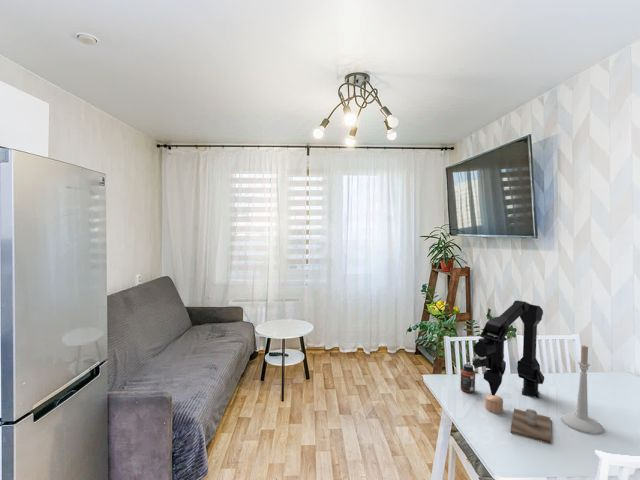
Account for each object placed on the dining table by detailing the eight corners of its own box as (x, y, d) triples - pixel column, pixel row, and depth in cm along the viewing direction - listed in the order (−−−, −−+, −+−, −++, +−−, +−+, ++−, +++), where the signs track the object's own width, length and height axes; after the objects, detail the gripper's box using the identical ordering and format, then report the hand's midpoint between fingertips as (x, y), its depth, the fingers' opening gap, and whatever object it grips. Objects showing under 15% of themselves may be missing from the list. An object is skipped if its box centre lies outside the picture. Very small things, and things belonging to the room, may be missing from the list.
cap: (486, 403, 148) (486, 393, 148) (503, 408, 145) (503, 397, 144) (484, 410, 143) (484, 399, 143) (501, 414, 139) (502, 403, 139)
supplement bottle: (476, 393, 157) (476, 368, 156) (461, 392, 158) (462, 367, 157) (473, 387, 163) (473, 363, 162) (459, 386, 164) (459, 362, 163)
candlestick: (568, 430, 129) (572, 348, 128) (555, 413, 141) (558, 338, 140) (610, 436, 125) (614, 352, 124) (593, 418, 138) (596, 341, 137)
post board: (514, 410, 142) (514, 397, 142) (549, 419, 136) (550, 405, 136) (510, 432, 127) (510, 417, 127) (550, 443, 121) (551, 427, 121)
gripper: (477, 342, 155) (476, 377, 156) (470, 355, 139) (469, 394, 140) (506, 347, 149) (505, 383, 150) (501, 361, 133) (500, 402, 134)
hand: (494, 390), depth 143 cm, fingers open, 9 cm apart
